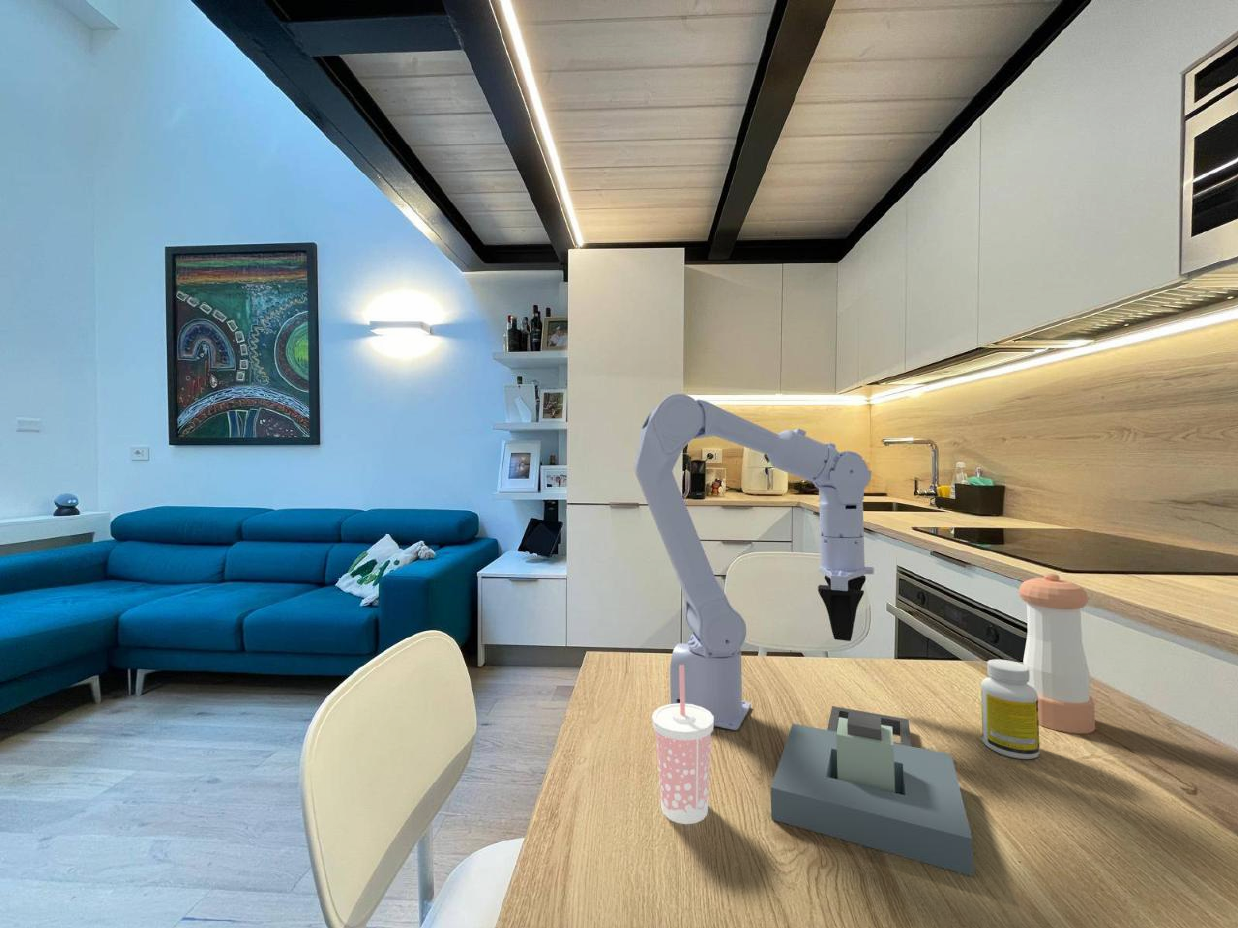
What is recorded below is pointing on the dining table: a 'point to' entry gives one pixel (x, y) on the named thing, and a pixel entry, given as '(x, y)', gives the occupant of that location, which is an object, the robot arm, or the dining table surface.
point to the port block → (875, 801)
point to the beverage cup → (683, 758)
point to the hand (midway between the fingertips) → (844, 631)
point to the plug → (865, 752)
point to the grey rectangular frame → (896, 723)
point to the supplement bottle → (1009, 710)
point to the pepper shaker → (1058, 653)
